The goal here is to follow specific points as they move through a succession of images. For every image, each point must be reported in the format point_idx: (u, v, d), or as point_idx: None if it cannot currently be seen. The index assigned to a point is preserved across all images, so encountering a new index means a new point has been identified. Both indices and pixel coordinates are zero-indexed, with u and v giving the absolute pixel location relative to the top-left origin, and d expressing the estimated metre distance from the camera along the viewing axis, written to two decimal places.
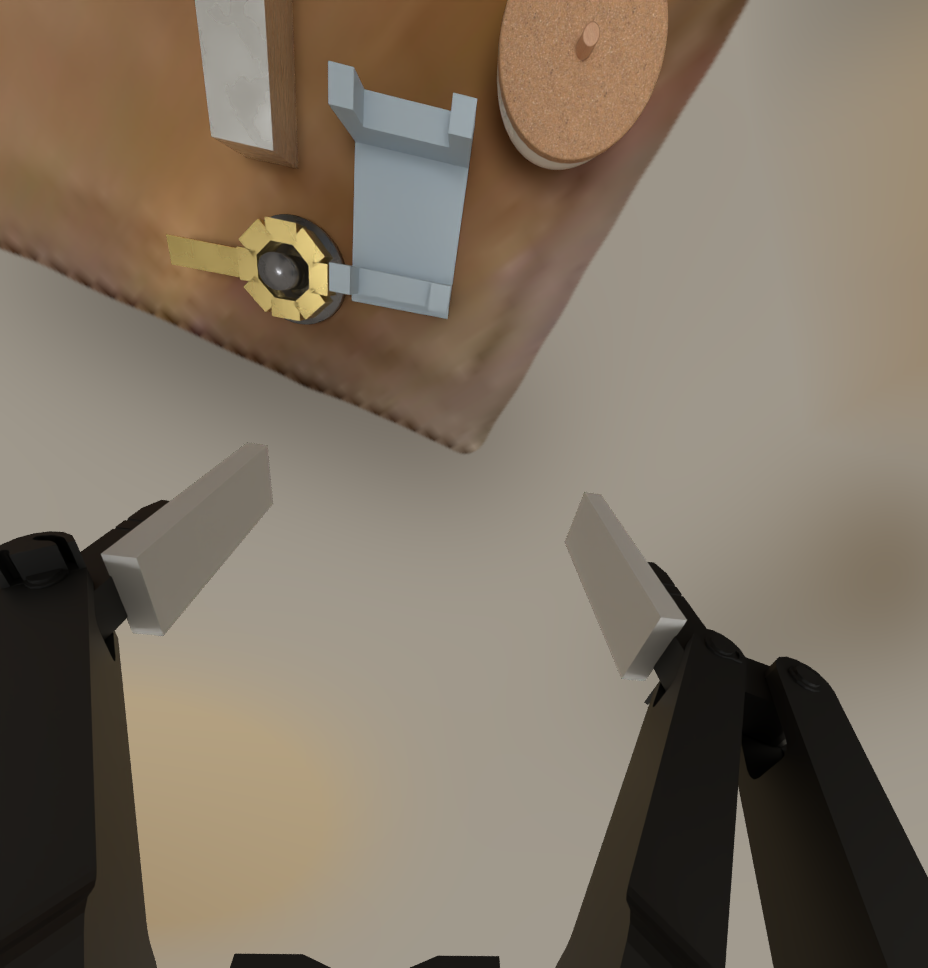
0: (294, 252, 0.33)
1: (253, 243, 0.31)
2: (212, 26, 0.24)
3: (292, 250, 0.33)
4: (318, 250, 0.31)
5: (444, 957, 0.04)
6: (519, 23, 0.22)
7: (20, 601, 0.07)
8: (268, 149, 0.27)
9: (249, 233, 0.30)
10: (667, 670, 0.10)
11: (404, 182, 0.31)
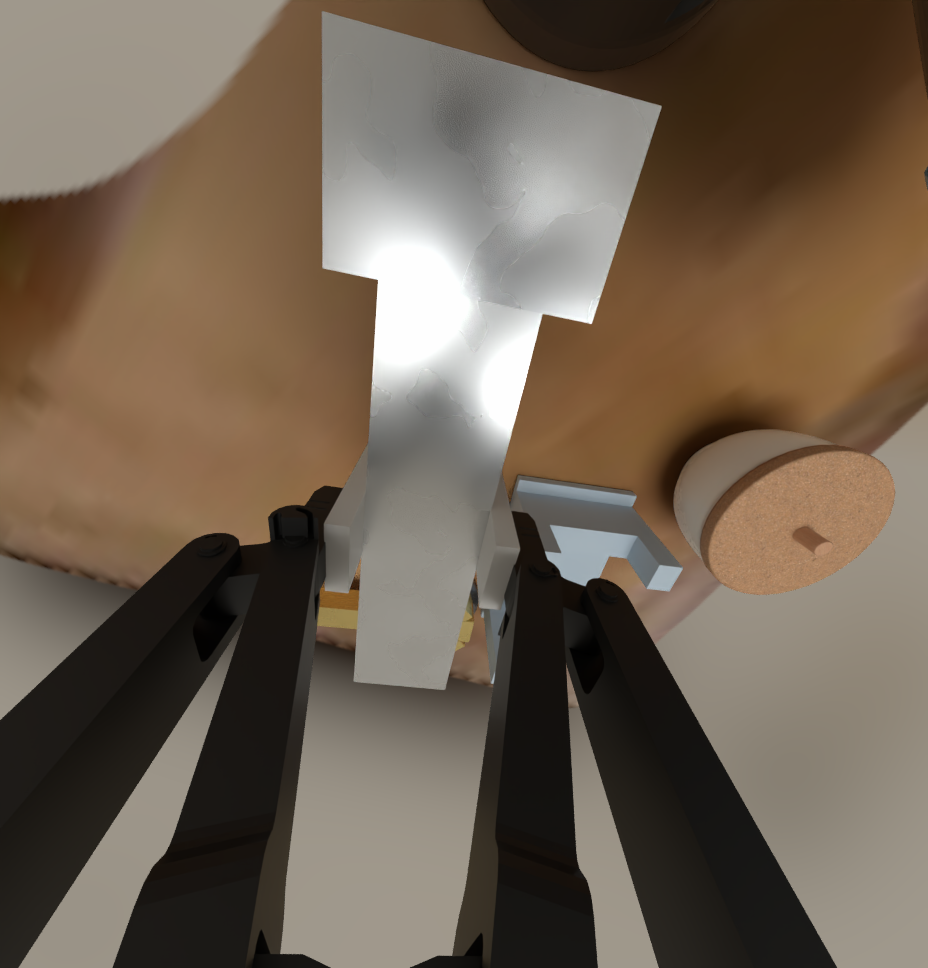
0: None
1: None
2: (382, 597, 0.15)
3: None
4: (467, 613, 0.30)
5: (445, 956, 0.04)
6: (740, 520, 0.21)
7: (278, 554, 0.09)
8: None
9: None
10: (508, 602, 0.11)
11: None
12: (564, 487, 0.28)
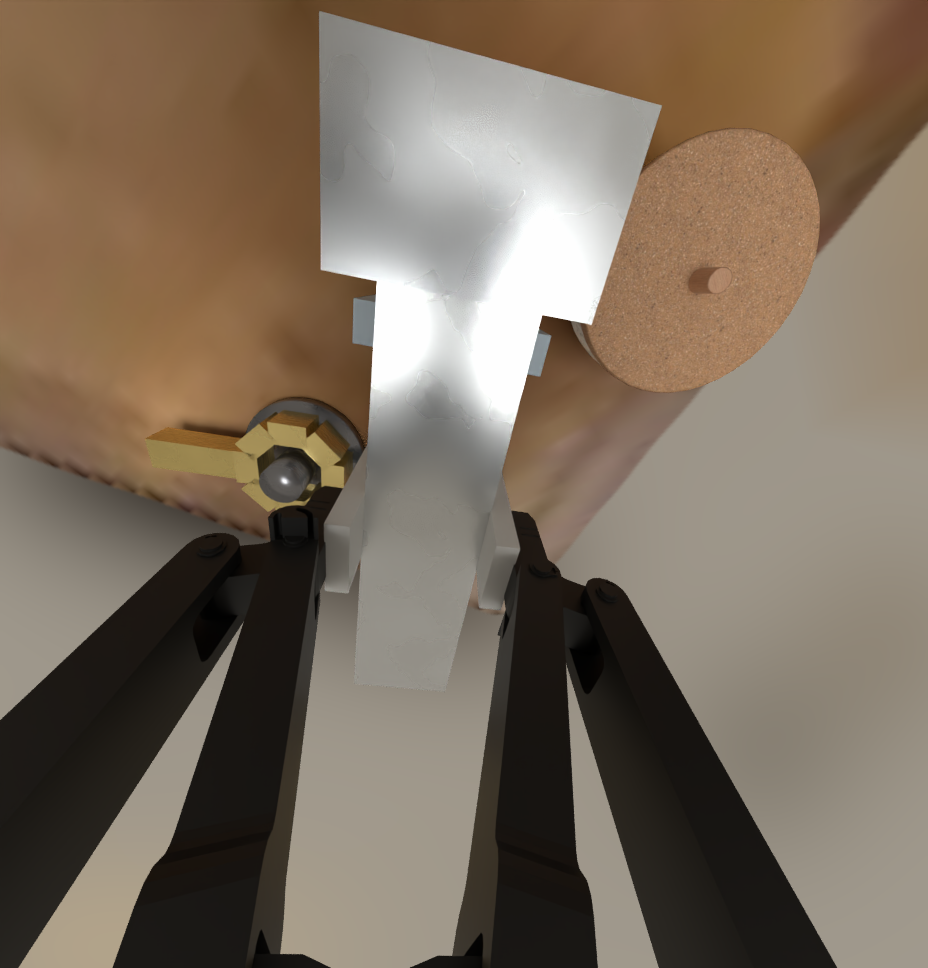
0: None
1: (253, 447, 0.25)
2: (382, 599, 0.15)
3: None
4: (333, 453, 0.25)
5: (445, 957, 0.04)
6: (615, 254, 0.16)
7: (278, 554, 0.09)
8: None
9: (248, 438, 0.24)
10: (508, 602, 0.11)
11: None
12: None
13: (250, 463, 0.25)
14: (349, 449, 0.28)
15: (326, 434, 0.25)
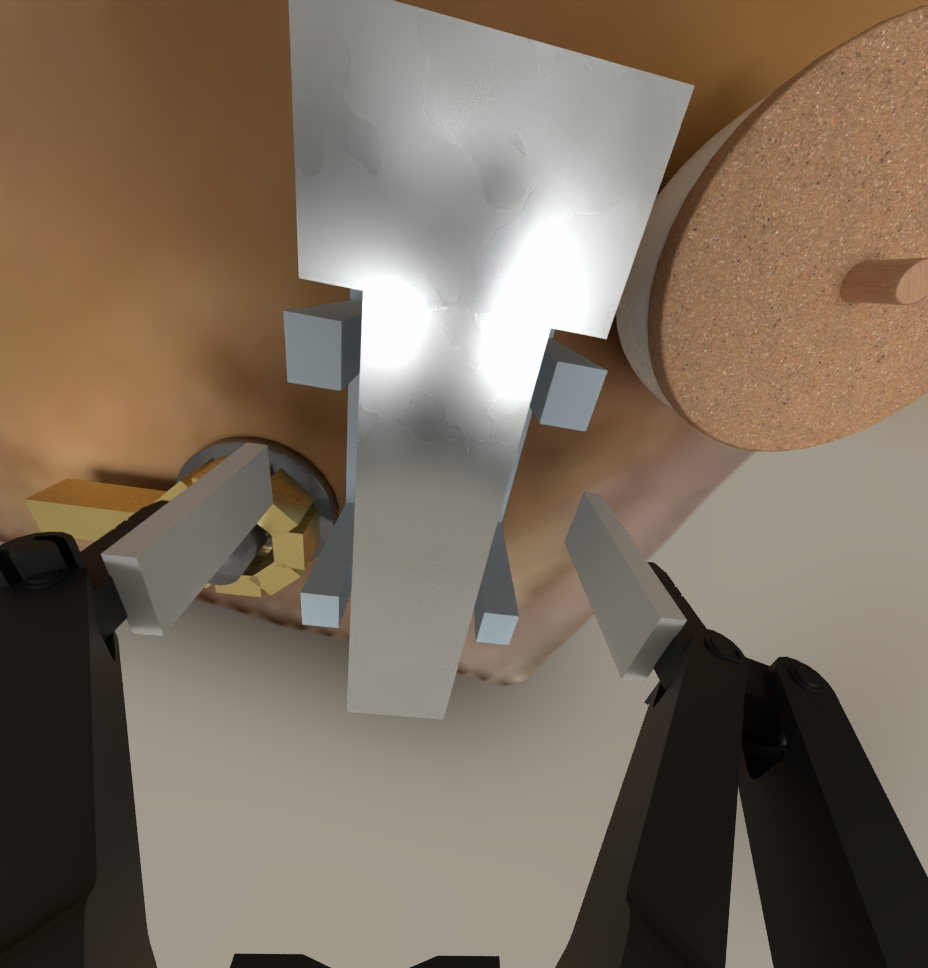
0: None
1: None
2: (375, 629, 0.14)
3: None
4: (287, 517, 0.18)
5: (444, 957, 0.04)
6: (725, 237, 0.10)
7: (20, 601, 0.07)
8: None
9: (167, 499, 0.18)
10: (667, 670, 0.10)
11: None
12: None
13: None
14: (314, 503, 0.21)
15: (278, 490, 0.19)
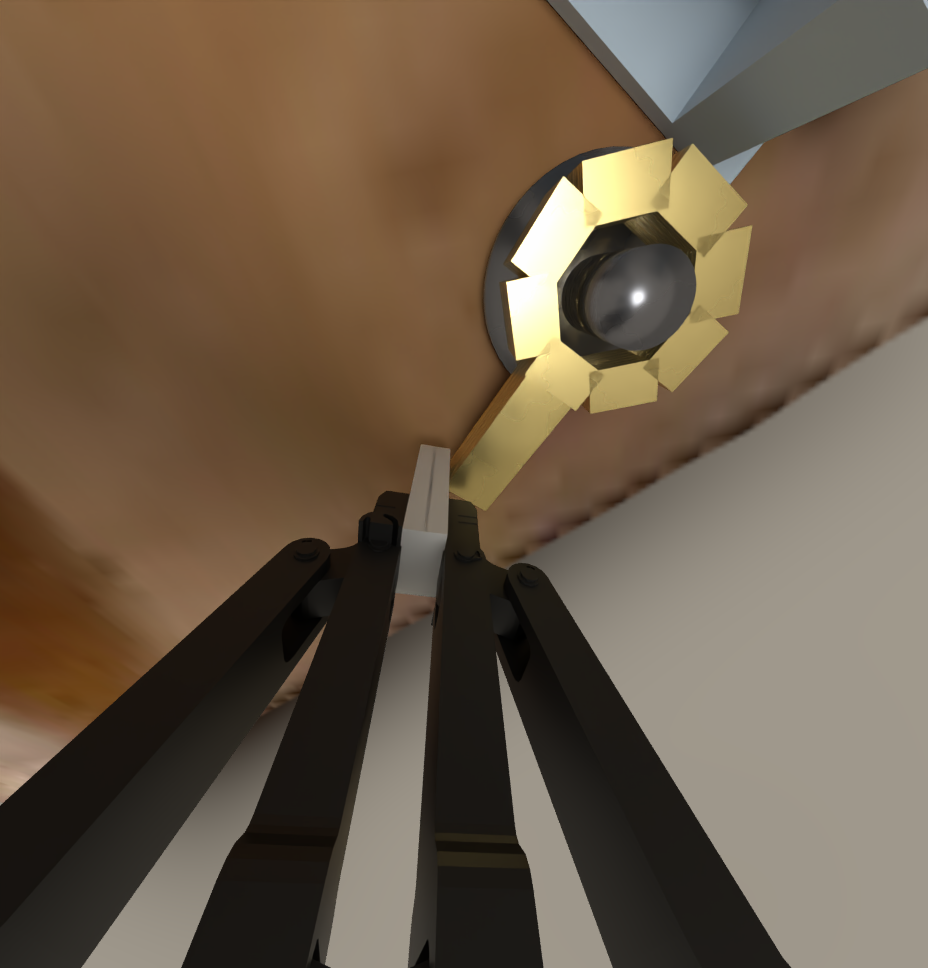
0: (564, 271, 0.14)
1: (539, 331, 0.12)
2: None
3: None
4: (649, 148, 0.10)
5: None
6: None
7: (363, 556, 0.10)
8: None
9: (520, 326, 0.12)
10: (437, 591, 0.11)
11: None
12: None
13: (561, 360, 0.13)
14: None
15: None
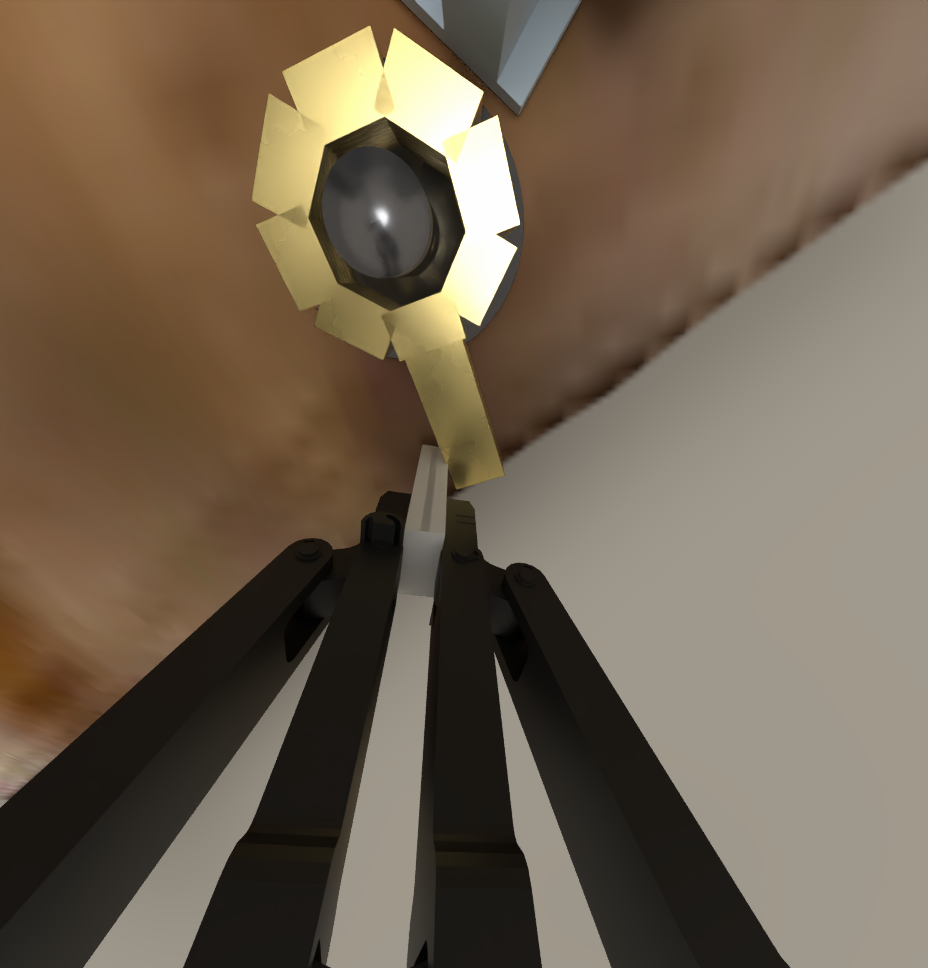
0: None
1: (370, 324, 0.12)
2: None
3: None
4: (268, 124, 0.10)
5: None
6: None
7: (365, 556, 0.10)
8: None
9: (356, 338, 0.12)
10: (435, 591, 0.11)
11: None
12: None
13: (408, 321, 0.12)
14: None
15: None
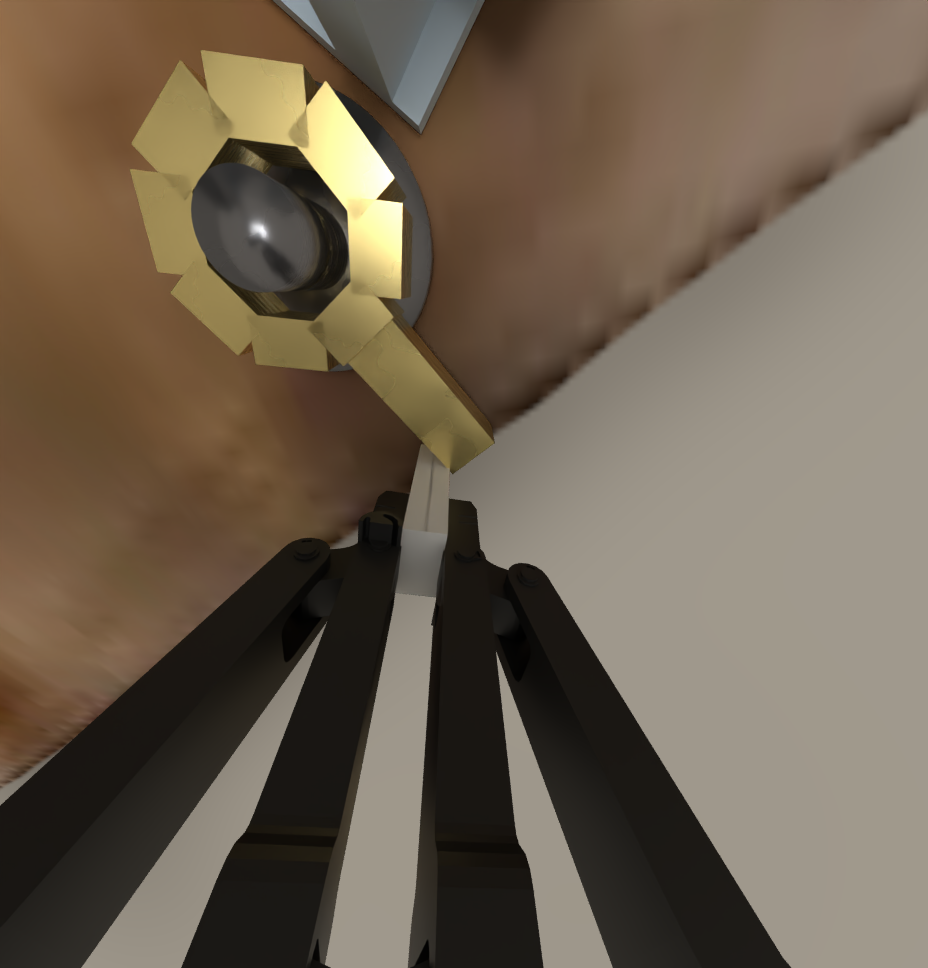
0: None
1: (302, 341, 0.12)
2: None
3: None
4: (141, 197, 0.10)
5: None
6: None
7: (363, 556, 0.10)
8: None
9: (295, 360, 0.13)
10: (437, 592, 0.11)
11: None
12: None
13: (333, 323, 0.12)
14: None
15: None
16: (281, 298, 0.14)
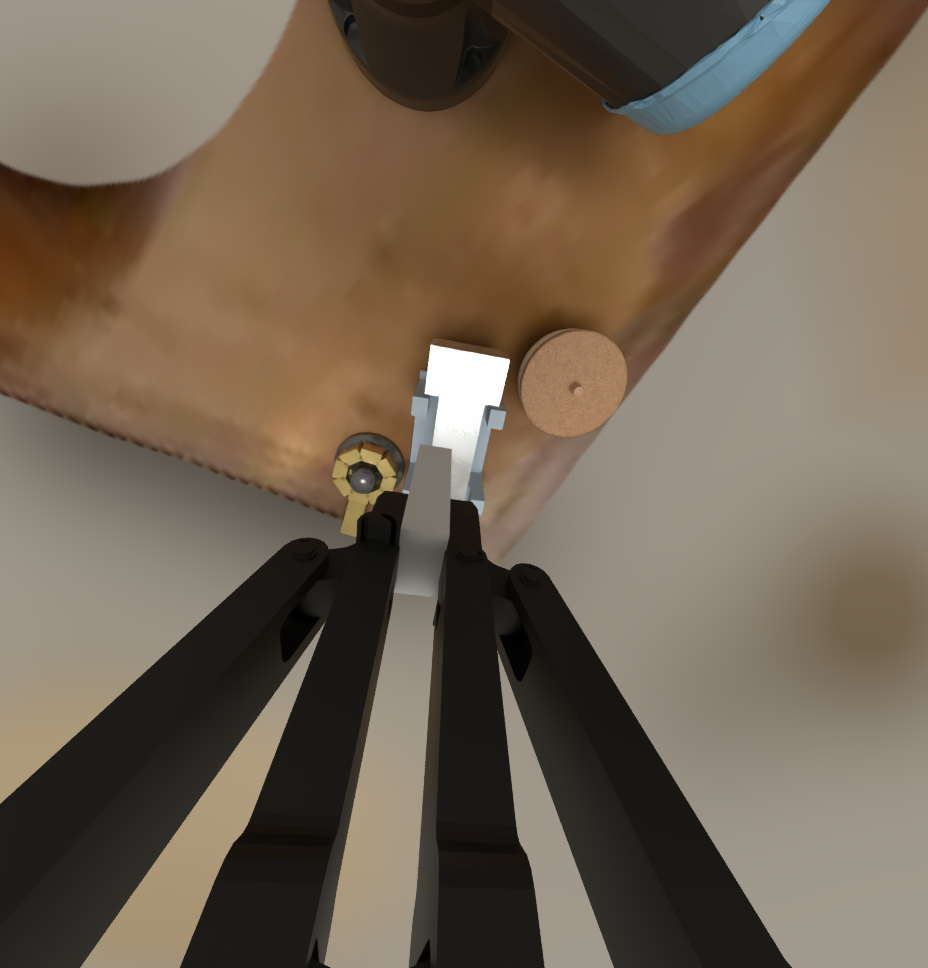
0: None
1: (346, 488, 0.46)
2: None
3: None
4: (352, 451, 0.43)
5: None
6: (533, 377, 0.35)
7: (361, 555, 0.10)
8: None
9: (341, 488, 0.46)
10: (438, 592, 0.11)
11: None
12: None
13: (356, 493, 0.46)
14: None
15: (345, 450, 0.44)
16: None
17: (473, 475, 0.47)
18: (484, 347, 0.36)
